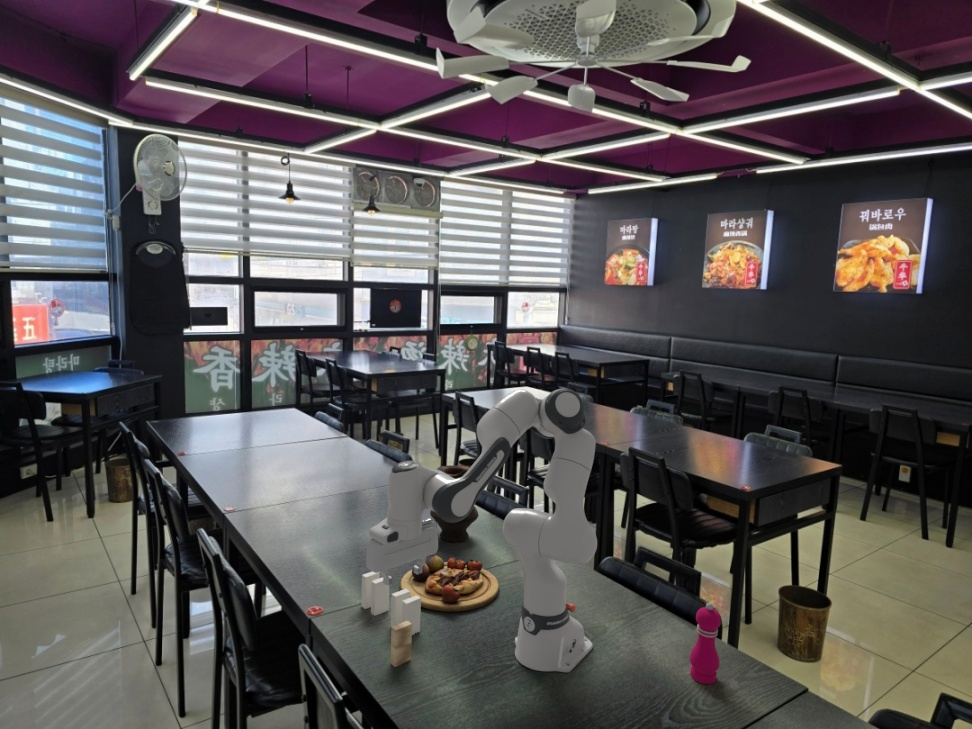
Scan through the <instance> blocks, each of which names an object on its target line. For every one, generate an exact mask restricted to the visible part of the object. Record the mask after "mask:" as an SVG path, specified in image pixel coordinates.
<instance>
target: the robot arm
mask: <svg viewBox="0 0 972 729" xmlns="http://www.w3.org/2000/svg"><path fill="white" fill-rule="evenodd" d="M586 423H587V422H586V417H585V407H584V402H583V399H582V397H581V395H580V394H579V393H578V392H576V391H575V390H573V389H571V388H559V389H555V390H552V391H551V392H550V393H549V394H548V395H547V396H545V397H544V398H537V397H536V396H534V394H533V393H531V392H530V391H528V390H526V389H523V388H518V389H516V390H514V391H512V392H510V393H508V394H507V395H506V396H504V397H503V398H502V399H500V400H498V402H496V403H495V404H494V405H493V406H492V407H491V408H490V409H488V411H487V412H485V413H484V415H483V416H482V417H481V418H480V420H479V421H478V423H477V426H476V435H477V436H476V437H477V439H478V442H479V443H480V446H481V448H482V449H481V453H480V455H479V456H478V457H477V459H476V460H475V461H474V462H473V464H472V465H471V466H469V468H470V469H469V470H468V471H467V472H466V473H465V475H464V476H462V477H461V478H458V479H454V478H452V477H451V476H449V475H448V474H446V473H444V472H442V471H440V470H437V468H436V469H435V468H434V469H433V468H429V467H428V466H425V465H423V464H422V463H421V462H419V461H418V460H417V461H416V460H404V461H401V462H398V463H396V464H395V465H393V467H392V468H391V470H390V472H389V476H388V485H387V501H388V508H387V511H386V512H387V513H386V517H384V519H383V520H382V521H380V522H378V523H377V524H375V525H374V526H372V527H371V528H370V529H369V531H368V532H369V533H368V536H369V537H370V540H369V541H368V543H367V548H366V556H365V558H366V559H365V561H366V562H365V566H366V567H367V569H368V570H370V572H372V571H373V572H374V573H378V572H380V575H381V576H382V577H383V583H384V584H385V585H389V586H390V585H391V584H393V577H392V576H390V575H388V573H389V572H390V569H392V568H396V567H399V566H402V565H404V564H407V563H410V562H414V561H416V560H417V562H416V563H415V565H416V566H415V565H413V567H414V573H415V574H420V573H422V567H423V565H424V564H426V562H427V557H428V556H431V555H434V554H437V551H438V549H439V537H438V531H437V530H438V528H437V527H438V524H437V522H436V521H435V520H434V519H433V518H428V519H424V520H423V515H424V514H423V512H424V511H425V510H427V509H429V510H430V511H431V510H432V511H434V512H435V513H436V514H437V515H438V516H439V517H440V518H441V519H442V520H444V521H446V522H449V523H455V522H459V521H461V520H463V519H464V518H465V517H467V516H468V515H469V513H470V512H471V510H472V509H473V507H474V506H475V505H476V503H477V501H478V499H479V497H480V496H481V494H482V493H483V492H484V490H486V487H487V486H488V485H489V483H491V481H492V480H493V479H494V477H495V476H496V475H497V474H498V472H499V471H500V470H501V468H502V467H503V466H504V465H505V463H506V462H507V461H508V459H509V457H510V454H511V450H512V448H513V445H515V443H516V442H517V441H518V439H520V438H521V437H522V435H523V434H525V433H526V431H527V430H530V431H531V432H534V433H535V434H536V435H538V436H539V437H541V438H543V439H548V440H550V439H551V440H552V439H554V441H555V442H554V443H555V446H554V452H553V454H552V455H551V456H552V457H551V459H550V462H549V465H548V468H547V471H546V474H545V478H544V480H543V489H544V493H545V494H546V496H547V497H548V498H549V499H550V500H551V501H552V502H554V504H555V510H554V513H548V512H545V511H542V510H537V509H534V508H524V507H523V508H521V507H520V508H519V507H517V508H516V507H515V508H513V509H511V511H509V512H508V513H507V515H506V516H505V518H504V521H503V524H502V534H503V538H504V540H505V542H506V543H507V544H508V545H509V546H510V547H511V548H512V550H513V551H514V553H515V555H516V557H517V559H518V561H519V564H520V566H521V569H522V573H523V574H522V575H523V586H524V587H523V589H524V590H523V591H524V592H523V593H524V594H523V601H522V603H521V604H522V605H521V610H520V612H521V615H520V620H519V624H518V630H517V631H518V632H517V636H515V638H514V645H515V649H514V655H515V658H516V660H517V661H518V662H519V663H520V665H522V666H524V667H526V668H529V669H530V670H533V671H539V672H559V673H560V672H561V673H570V672H572V671H573V669H574V668H575V667H576V666H577V665H578V664H579V663H580V662H581V661H582V660H583V659H584V658H585V657H586V656H587V655H588V654H589V653H590V652H591V651H592V649H593V648H594V647H593V642H592V641H591V640H590V639H589V638H588V637H587V636H585V629H584V626H583V625H582V623H580V621H579V620H577V619H576V618H574V617H572V616H571V615H570V614H569V611H570V612H571V613H575V611H577V610H576V609H577V605H576V604H572V603H571V602H568V603H567V590H568V582H567V581H568V580H567V577H566V574H564V572H563V571H562V570H561V568H559V567H558V565H556V564H555V562H554V560H555V561H557V562H560V563H564V564H570V565H585V564H586V565H587V563H589V562H590V561H591V560H592V559H593V558H594V555H595V553H596V552H597V548H598V539H597V535H596V531H595V530H594V529H593V527H592V526H591V524H590V523H589V521H588V519H587V517H586V513H585V507H584V506H585V505H584V499H585V494H586V490H587V485H588V481H589V478H590V476H591V472H592V467H593V464H594V460H595V452H596V438H595V436H594V435H593V434H592V433H591V431H589V430H587V429H585V428H584V427H585V425H586Z"/></svg>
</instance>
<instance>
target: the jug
mask: <svg viewBox="0 0 972 729" xmlns="http://www.w3.org/2000/svg"><path fill="white" fill-rule="evenodd" d="M469 469H470V466H464V465H452V464H451V465H442V466H439V467H437V468H436V470H440V471H442V472H444V473H446V474H448V475H449V476H451V477H452V478H454V479H458V478H461V477H462V476H464V475H465V473H466V472H467V471H468V470H469ZM429 513H430V514H429V515H430V516H431V517H432V518H431V519H433V520H435V521H436V522H437V526H438V527H439V528H440V529H441V531H440V533H439V537H440V538H441V539H442V540H444V541H448V542H452V543H458V542H459V543H460V542H461V543H462V542H465V541H467V540H468V539H469V536H470V535H469V533H468V532H467V530H468V528H469V527H470V526H471V525H472V524H473V523H474V522H475V521H476V520H477V519H478V518H479V512H478V509H477V508H476V506H475V505H474V507H473V509H472V510H471V512H470V513H469V515H468V516H467V517H465V518H464V519H463V520H461V521H459V522H455V523H449V522H446V521H444V520H442V519H441V518H440V517H439V516H438V515H437V514H436V513H435V512H434V511H432V510H431V509H430V512H429Z"/></svg>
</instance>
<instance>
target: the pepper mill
mask: <svg viewBox="0 0 972 729" xmlns="http://www.w3.org/2000/svg"><path fill="white" fill-rule="evenodd" d="M695 620H696V623H697V625H696V632H697V633H698V634H697V635H698V636H697V641H696V642H695V644H694V646H693V648H692V649H691V652H690V654H689V662H690V664H691V666H690V673H689V674H690V676H691V678H692V679H693V680H694V681H696V682H698V683H701V684H704V685H711V684H713V683H716V680H717V671H719V668H720V656H719V654H718V651H717V648H716V637H717V636H718V634H719V633H718V632H719V629H718V628H719V627H720V626H721V624H722V618H721V614H720V613H719V611H717V610H716V609H715V608H714V605H713V603H711V602H706V605H705V606H704V607H700V608H699V609H698V610H697V611H696V615H695Z"/></svg>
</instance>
